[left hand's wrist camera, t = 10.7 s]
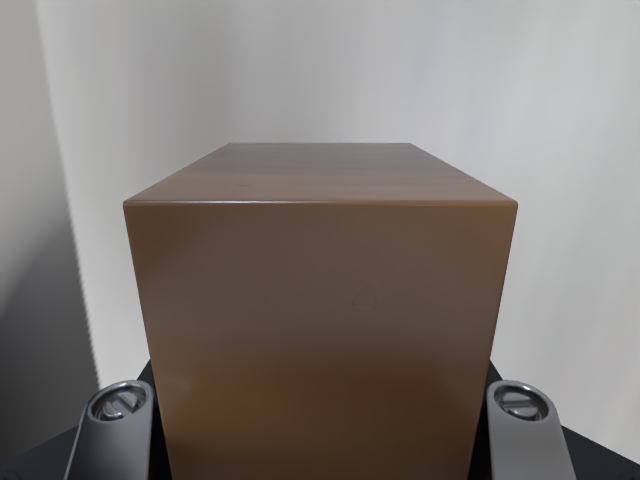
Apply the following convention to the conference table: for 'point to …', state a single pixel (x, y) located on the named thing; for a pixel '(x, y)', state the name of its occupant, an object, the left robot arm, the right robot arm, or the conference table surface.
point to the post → (320, 310)
